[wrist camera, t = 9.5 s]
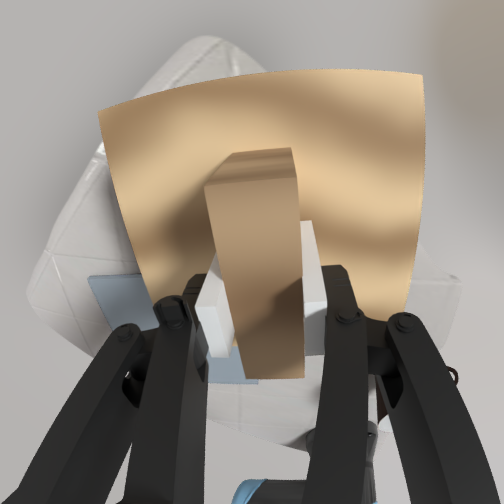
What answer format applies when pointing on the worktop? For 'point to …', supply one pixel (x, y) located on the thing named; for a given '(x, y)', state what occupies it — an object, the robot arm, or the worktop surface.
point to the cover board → (328, 161)
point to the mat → (153, 320)
